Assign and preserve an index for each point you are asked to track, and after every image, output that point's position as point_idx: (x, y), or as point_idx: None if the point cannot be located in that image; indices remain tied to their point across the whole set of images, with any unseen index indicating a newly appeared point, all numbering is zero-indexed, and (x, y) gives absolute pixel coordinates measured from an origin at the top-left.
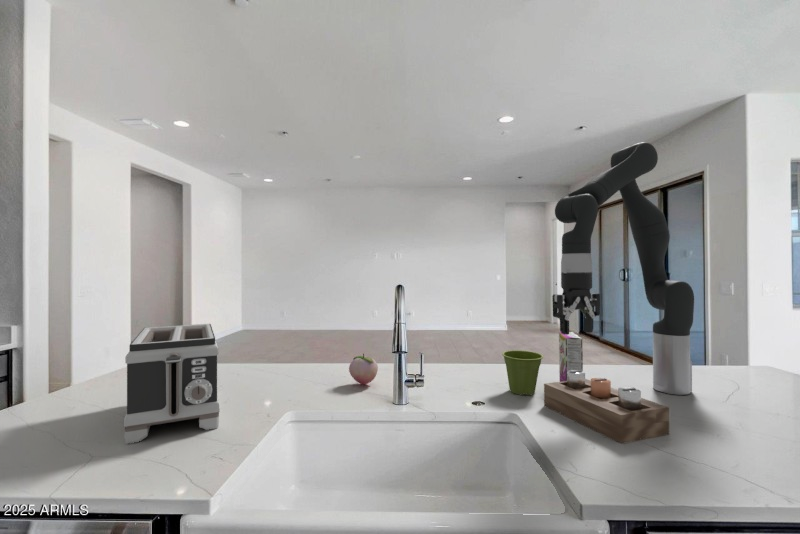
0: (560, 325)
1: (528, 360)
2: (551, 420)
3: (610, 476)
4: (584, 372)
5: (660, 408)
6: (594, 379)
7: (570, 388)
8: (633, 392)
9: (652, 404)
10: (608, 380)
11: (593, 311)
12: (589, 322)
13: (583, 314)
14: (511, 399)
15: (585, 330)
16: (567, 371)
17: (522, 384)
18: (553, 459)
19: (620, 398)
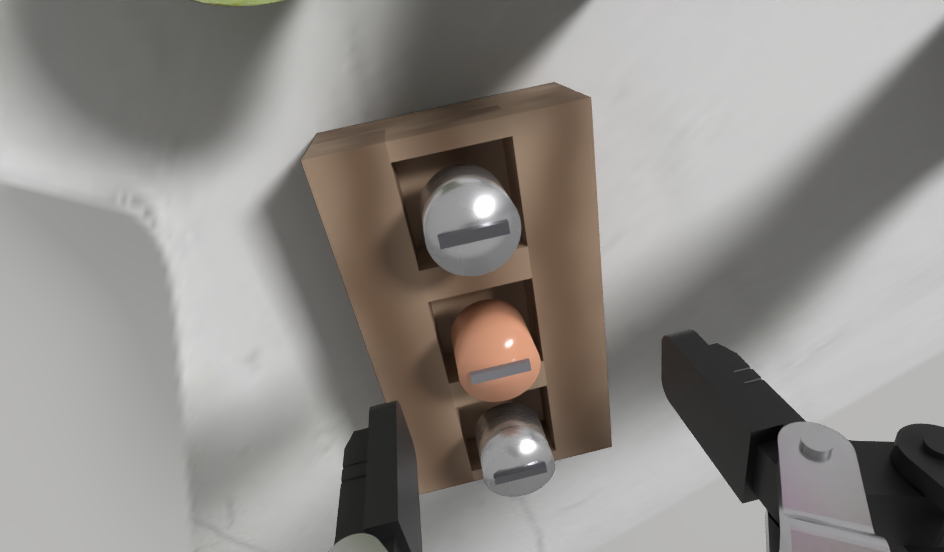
0: (343, 494)
1: (206, 1)
2: (283, 283)
3: (293, 539)
4: (518, 240)
5: (577, 454)
6: (481, 357)
7: (404, 253)
8: (511, 493)
9: (584, 428)
10: (534, 371)
11: (919, 525)
12: (718, 456)
13: (780, 468)
14: (165, 4)
15: (669, 350)
16: (433, 212)
17: None
18: (192, 492)
19: (479, 451)
